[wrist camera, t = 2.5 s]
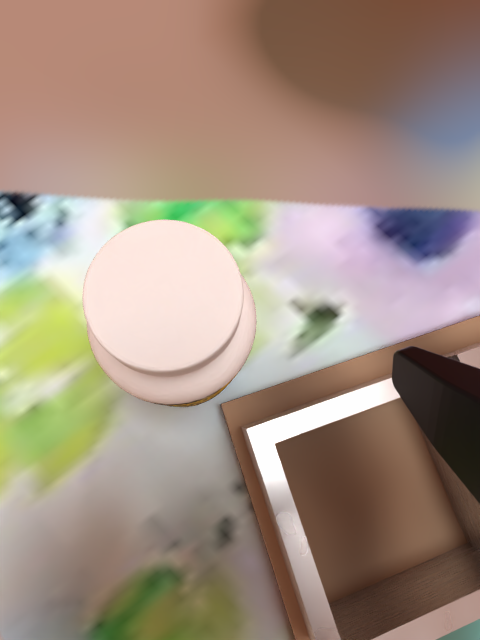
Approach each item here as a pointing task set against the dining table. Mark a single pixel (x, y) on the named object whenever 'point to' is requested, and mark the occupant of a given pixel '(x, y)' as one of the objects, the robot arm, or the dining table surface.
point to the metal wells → (393, 592)
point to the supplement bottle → (168, 313)
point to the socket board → (356, 479)
